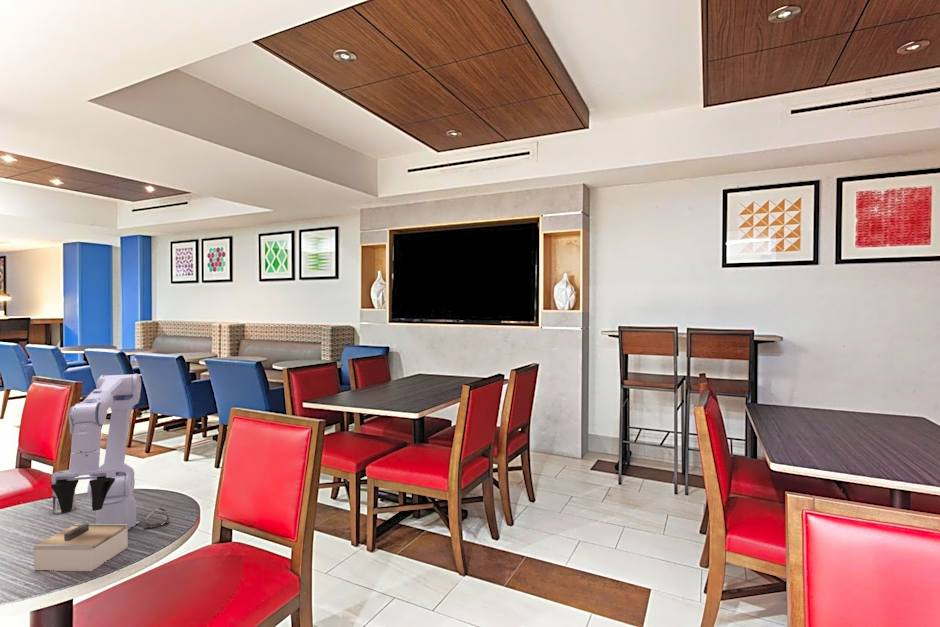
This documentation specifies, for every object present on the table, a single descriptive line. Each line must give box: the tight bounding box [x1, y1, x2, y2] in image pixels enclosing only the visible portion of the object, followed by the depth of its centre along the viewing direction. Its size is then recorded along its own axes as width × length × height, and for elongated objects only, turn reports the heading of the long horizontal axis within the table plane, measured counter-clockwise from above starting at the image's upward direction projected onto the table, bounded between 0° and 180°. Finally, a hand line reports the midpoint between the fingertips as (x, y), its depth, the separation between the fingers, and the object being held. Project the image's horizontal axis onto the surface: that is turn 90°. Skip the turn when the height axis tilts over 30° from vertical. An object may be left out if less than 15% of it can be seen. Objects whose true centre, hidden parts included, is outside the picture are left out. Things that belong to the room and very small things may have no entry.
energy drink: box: [52, 469, 76, 515], centre depth 155 cm, size 5×5×12 cm
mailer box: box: [33, 523, 129, 572], centre depth 125 cm, size 12×14×6 cm
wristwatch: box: [143, 507, 170, 529], centre depth 144 cm, size 4×6×5 cm, turn 133°
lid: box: [36, 523, 125, 547], centre depth 125 cm, size 10×14×2 cm
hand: (81, 511), depth 120 cm, fingers open, 7 cm apart
